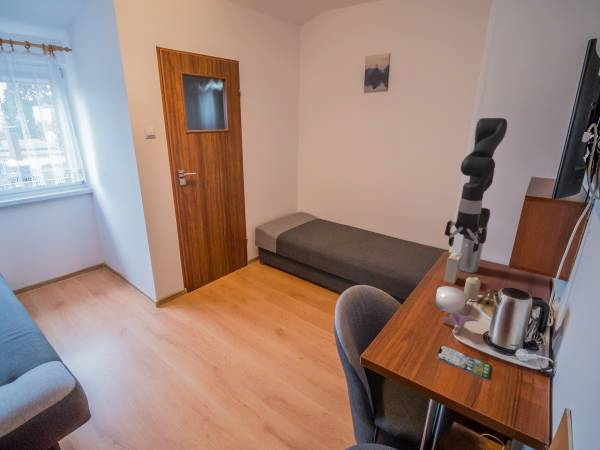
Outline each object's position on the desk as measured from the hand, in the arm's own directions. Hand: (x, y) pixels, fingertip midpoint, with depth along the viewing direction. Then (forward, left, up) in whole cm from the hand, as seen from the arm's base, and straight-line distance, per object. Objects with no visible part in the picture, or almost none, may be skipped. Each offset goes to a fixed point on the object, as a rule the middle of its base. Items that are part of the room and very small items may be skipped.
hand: (462, 248), depth 120 cm
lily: (+18, +7, -25) cm, 32 cm away
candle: (-9, +5, -25) cm, 27 cm away
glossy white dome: (+3, 0, -25) cm, 25 cm away
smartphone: (+33, +13, -26) cm, 44 cm away
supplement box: (-20, -6, -25) cm, 33 cm away
